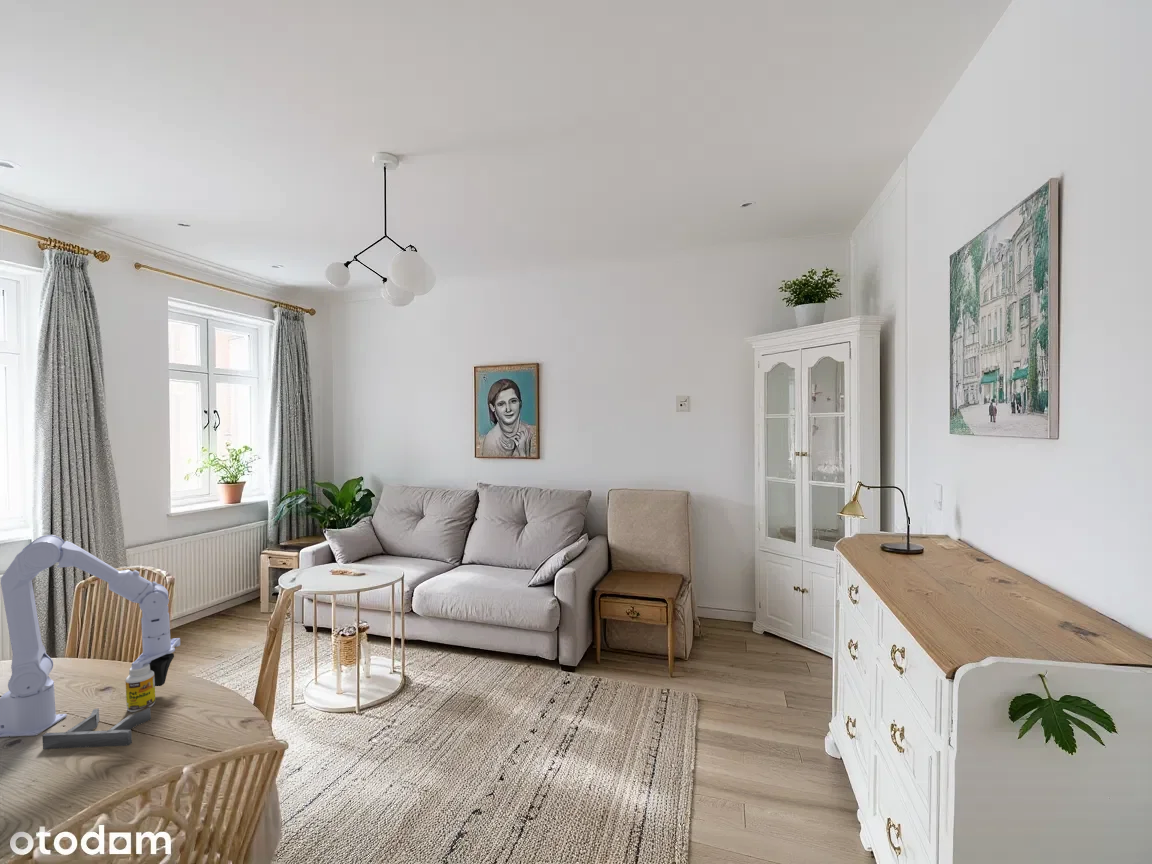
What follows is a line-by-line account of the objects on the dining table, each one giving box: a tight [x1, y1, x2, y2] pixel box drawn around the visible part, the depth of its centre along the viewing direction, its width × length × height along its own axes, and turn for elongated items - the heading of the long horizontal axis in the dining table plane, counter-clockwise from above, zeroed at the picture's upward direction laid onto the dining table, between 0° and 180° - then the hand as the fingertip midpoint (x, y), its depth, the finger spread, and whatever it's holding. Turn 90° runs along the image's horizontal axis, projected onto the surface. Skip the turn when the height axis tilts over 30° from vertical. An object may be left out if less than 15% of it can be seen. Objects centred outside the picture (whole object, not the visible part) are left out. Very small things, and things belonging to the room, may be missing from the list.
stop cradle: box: [41, 706, 152, 750], centre depth 123 cm, size 18×10×3 cm, turn 93°
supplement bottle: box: [125, 663, 156, 713], centre depth 133 cm, size 6×6×10 cm
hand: (158, 684), depth 140 cm, fingers closed
